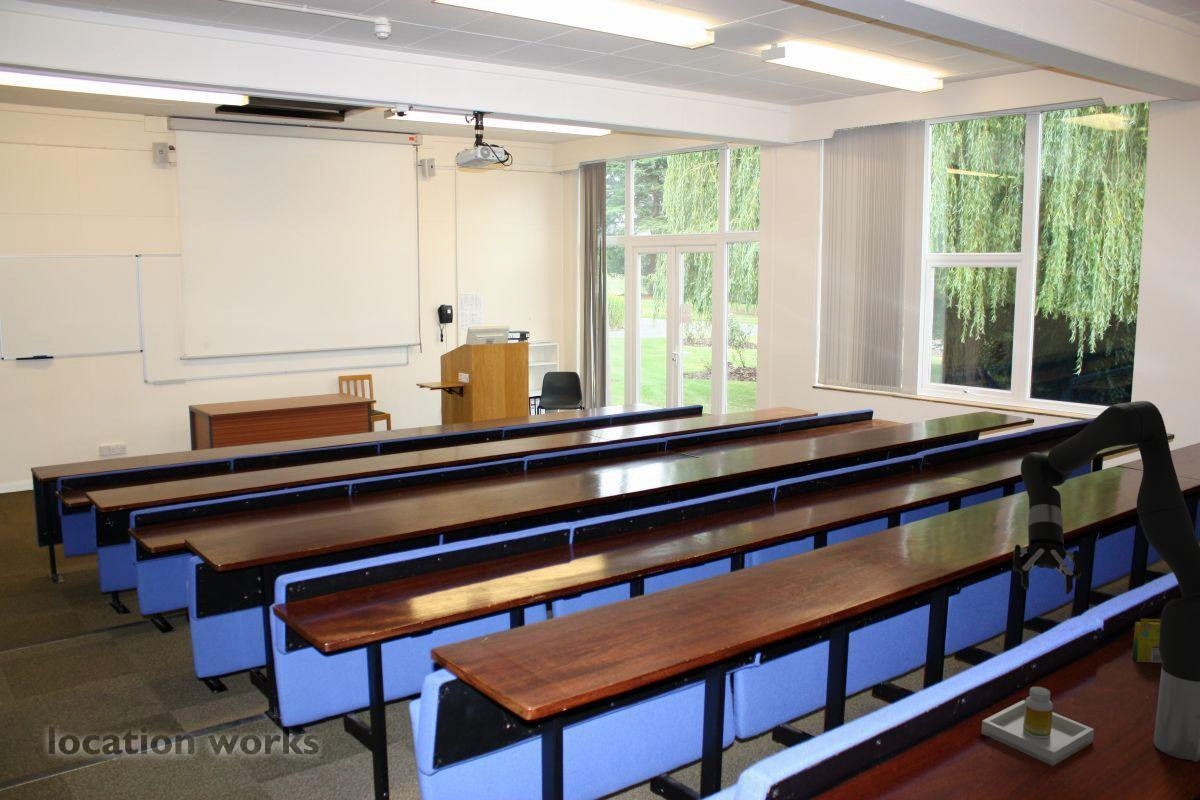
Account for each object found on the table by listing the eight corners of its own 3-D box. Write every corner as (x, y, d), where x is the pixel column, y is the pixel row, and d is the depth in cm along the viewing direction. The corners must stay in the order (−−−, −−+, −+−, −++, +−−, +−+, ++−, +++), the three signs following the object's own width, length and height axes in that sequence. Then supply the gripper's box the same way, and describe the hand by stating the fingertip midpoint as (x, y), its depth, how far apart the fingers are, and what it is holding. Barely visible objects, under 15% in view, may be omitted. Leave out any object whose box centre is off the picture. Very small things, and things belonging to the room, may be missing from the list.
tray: (1092, 742, 202) (1094, 729, 202) (1052, 766, 193) (1054, 752, 192) (1022, 712, 215) (1023, 700, 214) (981, 733, 206) (982, 720, 205)
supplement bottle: (1053, 740, 201) (1057, 697, 199) (1026, 737, 202) (1029, 695, 200) (1046, 728, 206) (1050, 686, 204) (1020, 725, 207) (1023, 683, 206)
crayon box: (1161, 658, 243) (1166, 615, 241) (1167, 663, 240) (1171, 620, 238) (1131, 657, 244) (1135, 614, 242) (1136, 662, 241) (1141, 618, 239)
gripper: (1014, 517, 225) (1015, 579, 216) (1081, 523, 220) (1084, 587, 212) (1011, 532, 231) (1011, 593, 222) (1076, 538, 226) (1079, 601, 217)
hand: (1047, 590), depth 217 cm, fingers open, 8 cm apart
